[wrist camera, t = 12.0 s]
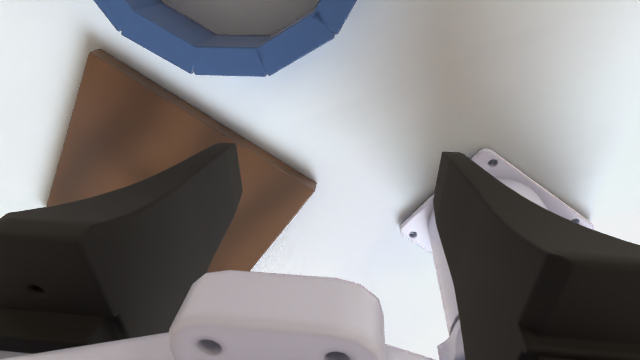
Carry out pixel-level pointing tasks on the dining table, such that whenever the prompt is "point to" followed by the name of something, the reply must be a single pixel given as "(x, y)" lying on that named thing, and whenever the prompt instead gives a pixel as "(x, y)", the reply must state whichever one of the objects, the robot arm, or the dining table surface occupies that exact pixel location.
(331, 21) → the blue ring
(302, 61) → the dining table surface
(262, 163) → the platform
